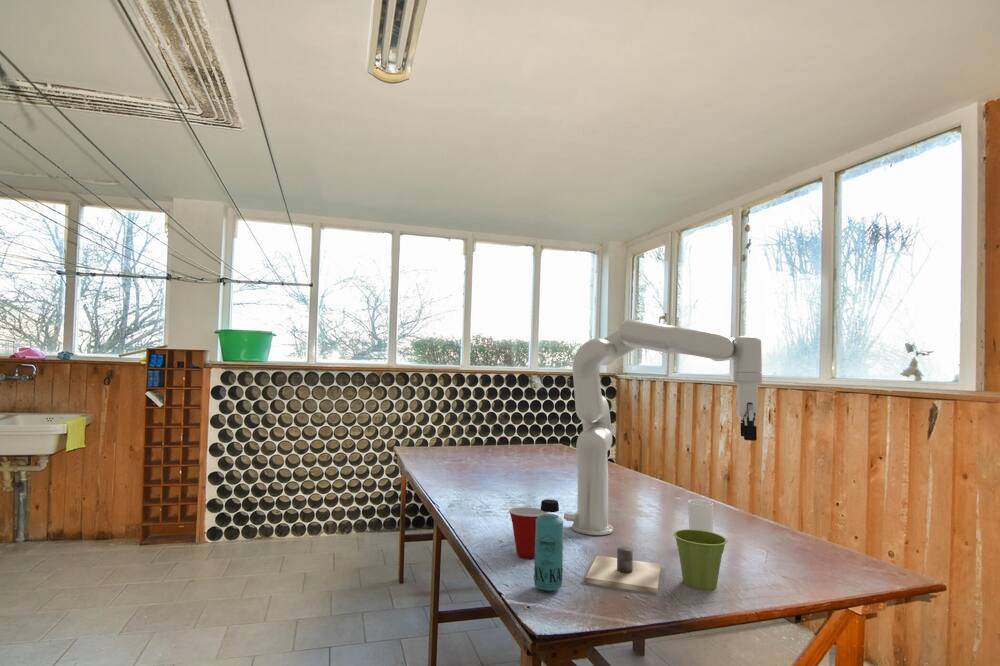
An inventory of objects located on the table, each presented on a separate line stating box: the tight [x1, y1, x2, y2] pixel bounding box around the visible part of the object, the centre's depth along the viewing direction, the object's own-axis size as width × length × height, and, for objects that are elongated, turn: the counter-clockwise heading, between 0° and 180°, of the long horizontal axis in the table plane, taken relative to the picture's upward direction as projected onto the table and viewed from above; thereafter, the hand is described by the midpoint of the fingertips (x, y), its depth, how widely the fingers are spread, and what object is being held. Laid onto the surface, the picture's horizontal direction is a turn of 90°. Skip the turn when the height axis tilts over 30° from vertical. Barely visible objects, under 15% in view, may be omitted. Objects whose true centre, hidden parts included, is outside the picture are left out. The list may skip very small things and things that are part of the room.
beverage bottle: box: [533, 498, 564, 591], centre depth 119 cm, size 6×7×20 cm
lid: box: [585, 546, 662, 594], centre depth 127 cm, size 16×16×6 cm
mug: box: [687, 499, 714, 533], centre depth 155 cm, size 10×7×12 cm, turn 149°
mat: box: [580, 557, 666, 598], centre depth 127 cm, size 18×18×1 cm
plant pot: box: [672, 528, 728, 591], centre depth 123 cm, size 12×12×11 cm
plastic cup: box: [508, 506, 550, 560], centre depth 142 cm, size 11×11×12 cm
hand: (748, 438), depth 152 cm, fingers open, 9 cm apart
